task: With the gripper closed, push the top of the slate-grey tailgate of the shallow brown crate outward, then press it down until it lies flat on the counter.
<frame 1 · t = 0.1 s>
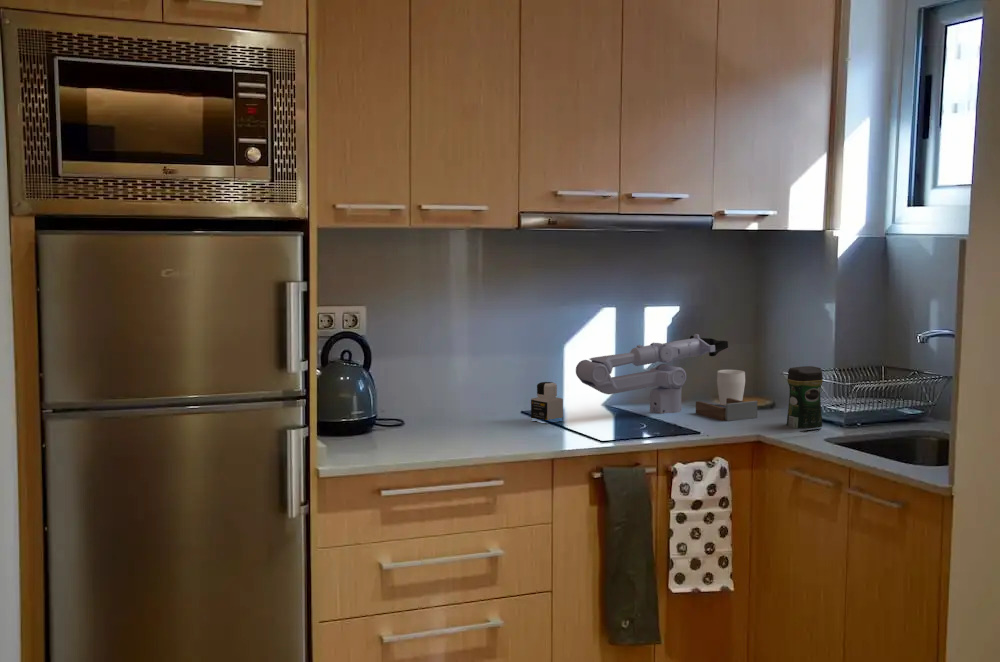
hand: (719, 343, 315), 22 cm above the worktop, tool horizontal, fingers open, 7 cm apart
tailgate: (741, 411, 294), point 4 cm above the worktop, hinge at 0.0°
medicine bottle: (547, 421, 301), on the worktop
cup: (730, 408, 319), on the worktop
shallow brown crate: (725, 419, 301), on the worktop
coffee jar: (803, 430, 285), on the worktop
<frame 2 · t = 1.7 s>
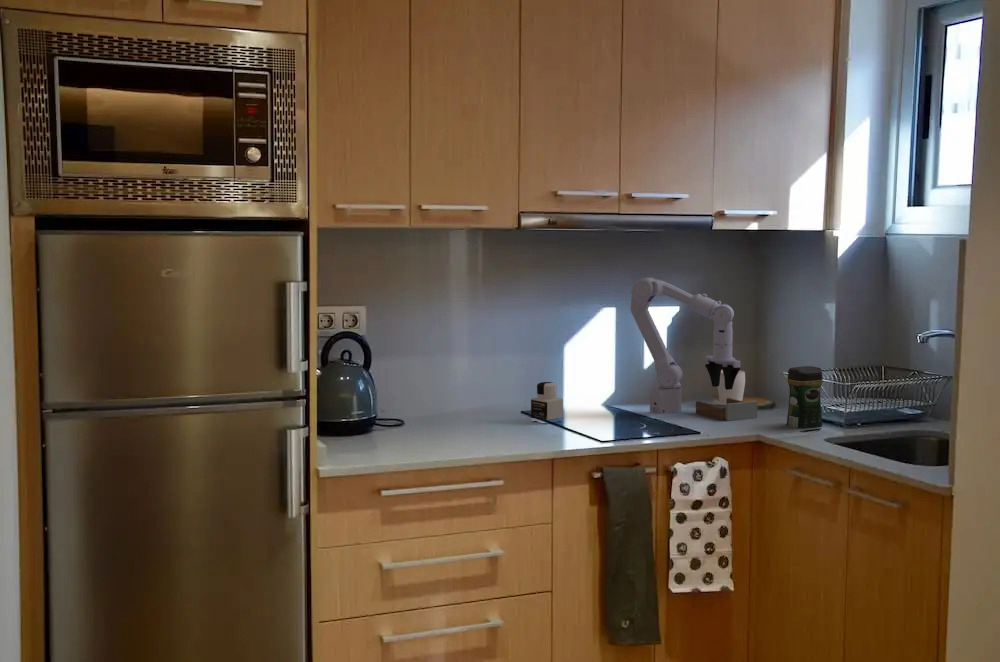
hand: (722, 387, 302), 9 cm above the worktop, tool pointing down, fingers open, 6 cm apart
nothing on the worktop moved.
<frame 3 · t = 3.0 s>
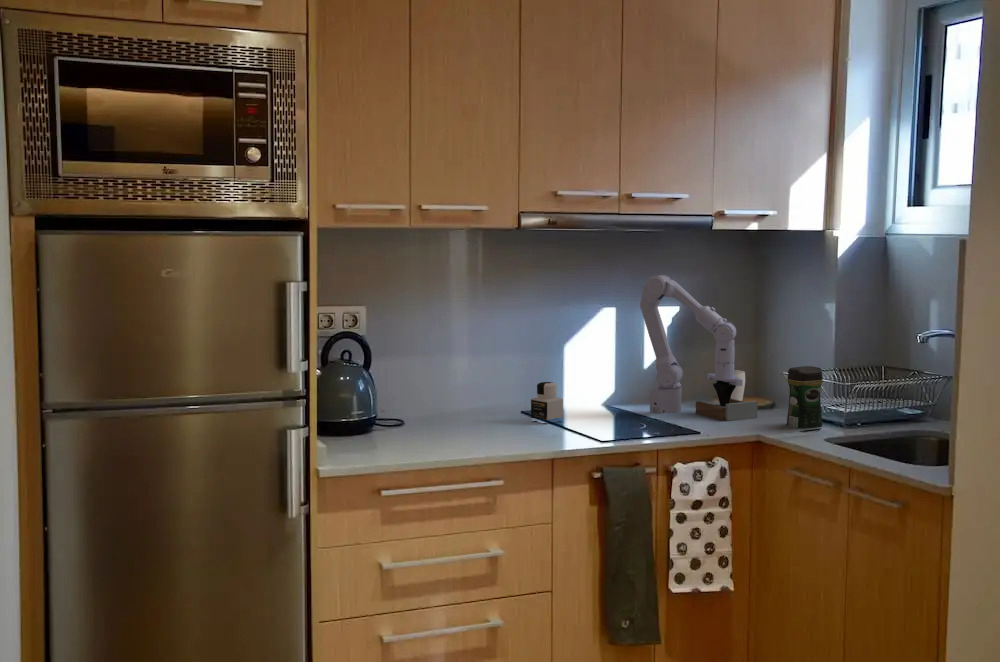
hand: (724, 406, 302), 4 cm above the worktop, tool pointing down, fingers closed
nothing on the worktop moved.
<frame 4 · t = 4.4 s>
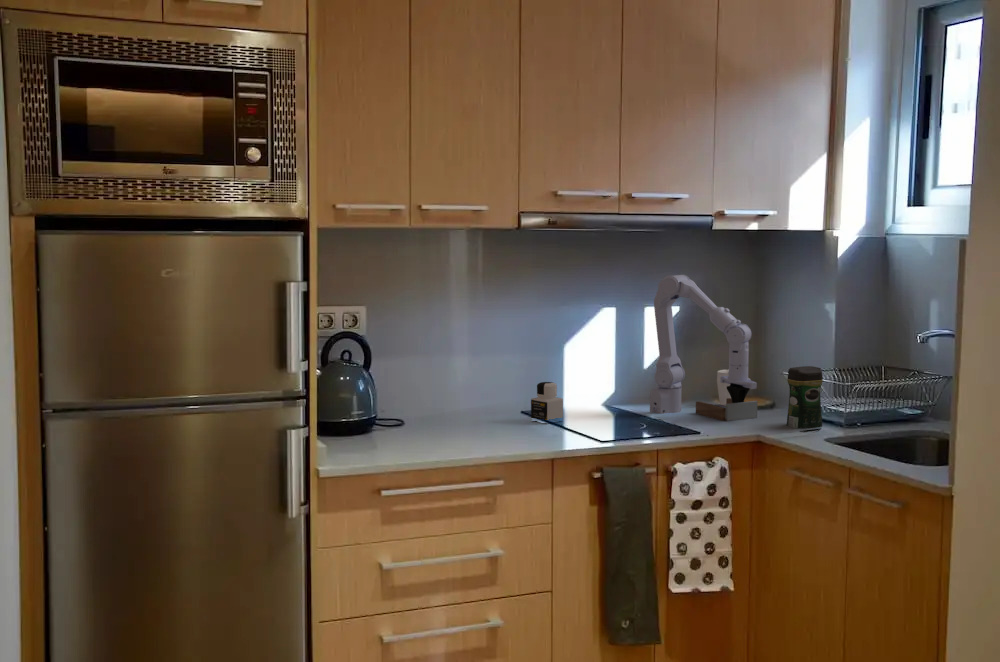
hand: (737, 409, 296), 4 cm above the worktop, tool pointing down, fingers closed, pressing on tailgate
tailgate: (741, 411, 294), point 4 cm above the worktop, hinge at 0.0°, touching gripper
everything else where it was.
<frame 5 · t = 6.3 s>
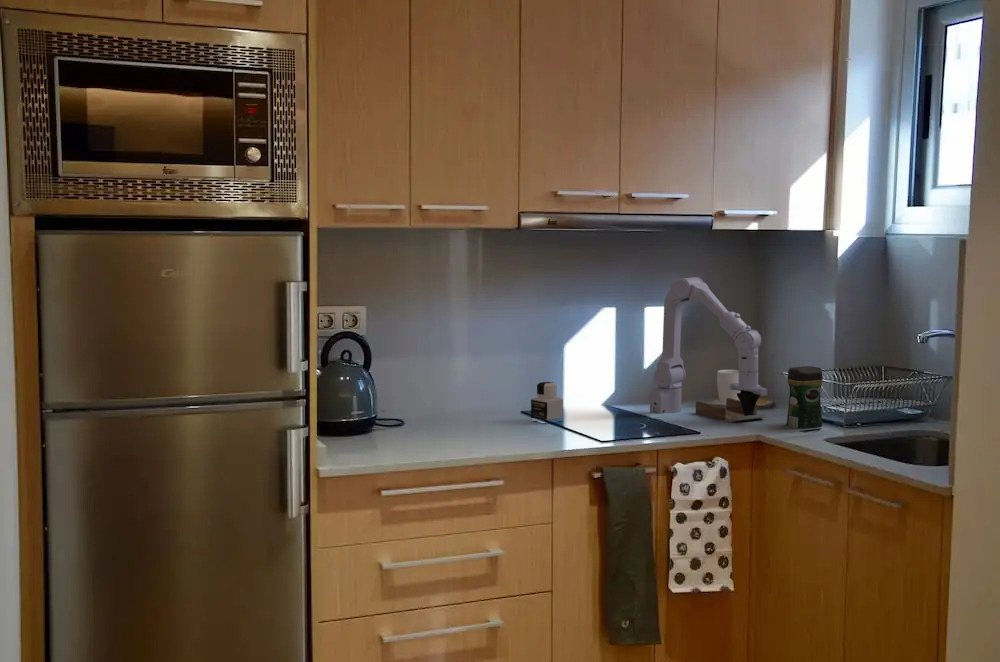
hand: (748, 416, 292), 3 cm above the worktop, tool pointing down, fingers closed, pressing on tailgate
tailgate: (745, 418, 293), point 2 cm above the worktop, hinge at 68.4°, touching gripper
everything else where it was.
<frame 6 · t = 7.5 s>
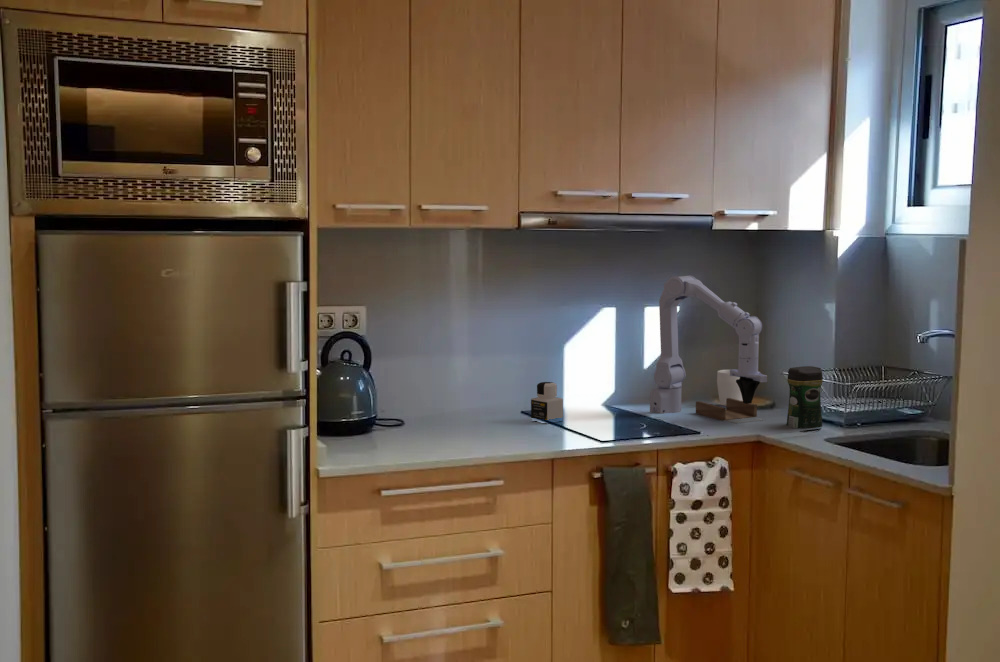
hand: (747, 403, 292), 7 cm above the worktop, tool pointing down, fingers closed
tailgate: (745, 421, 293), point 1 cm above the worktop, hinge at 89.2°
everything else where it was.
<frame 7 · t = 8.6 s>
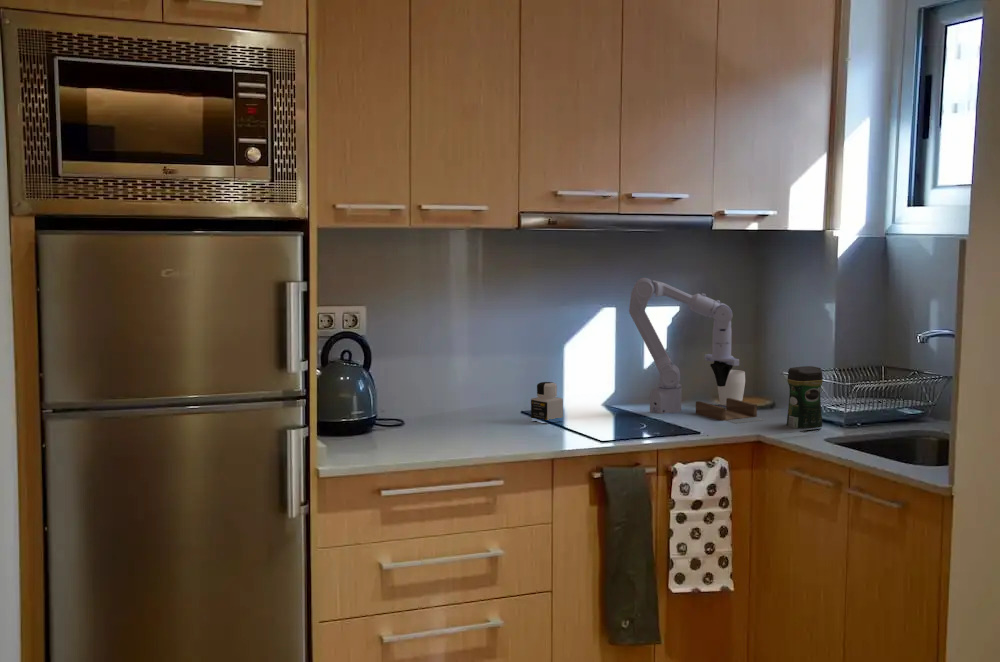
hand: (721, 386, 306), 9 cm above the worktop, tool pointing down, fingers closed
nothing on the worktop moved.
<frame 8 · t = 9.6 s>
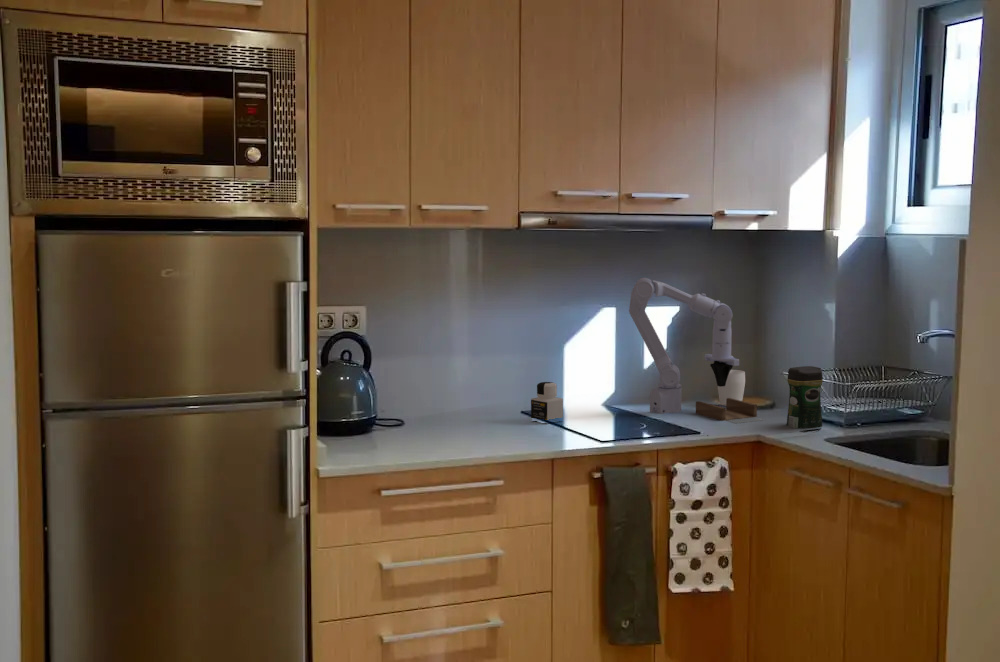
hand: (721, 386, 306), 9 cm above the worktop, tool pointing down, fingers closed
nothing on the worktop moved.
at the end: tailgate at +89° (first picture: +0°); coffee jar moved 0.2 cm from its start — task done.
